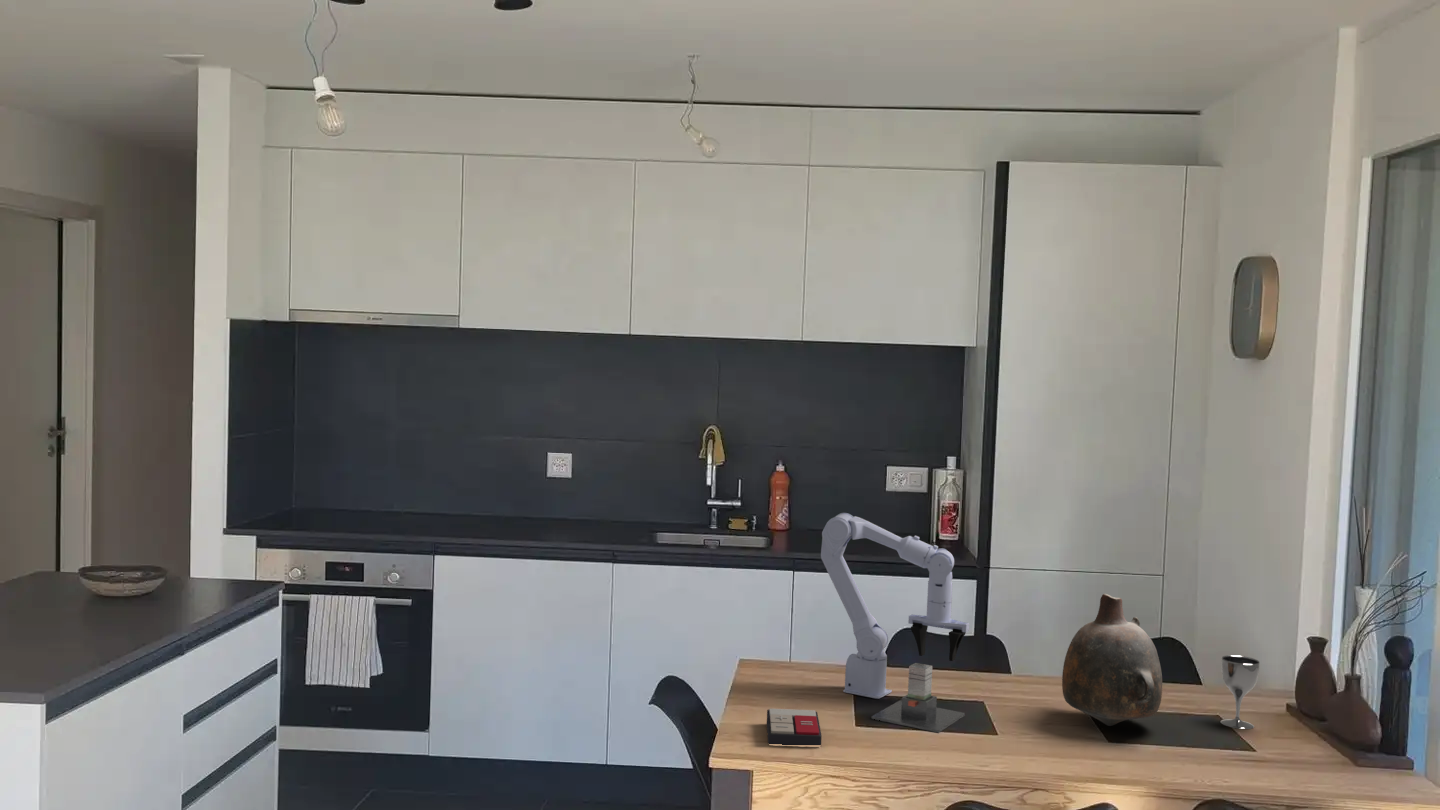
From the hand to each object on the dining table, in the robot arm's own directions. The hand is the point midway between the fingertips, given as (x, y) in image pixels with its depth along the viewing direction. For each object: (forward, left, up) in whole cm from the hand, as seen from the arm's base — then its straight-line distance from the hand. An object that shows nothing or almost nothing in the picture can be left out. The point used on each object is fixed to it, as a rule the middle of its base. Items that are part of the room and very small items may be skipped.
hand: (937, 657), depth 287 cm
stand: (+2, -15, -10) cm, 18 cm away
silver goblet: (+63, +27, -11) cm, 69 cm away
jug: (+39, +7, -11) cm, 41 cm away
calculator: (-14, -45, -11) cm, 48 cm away
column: (+2, -15, -7) cm, 17 cm away
